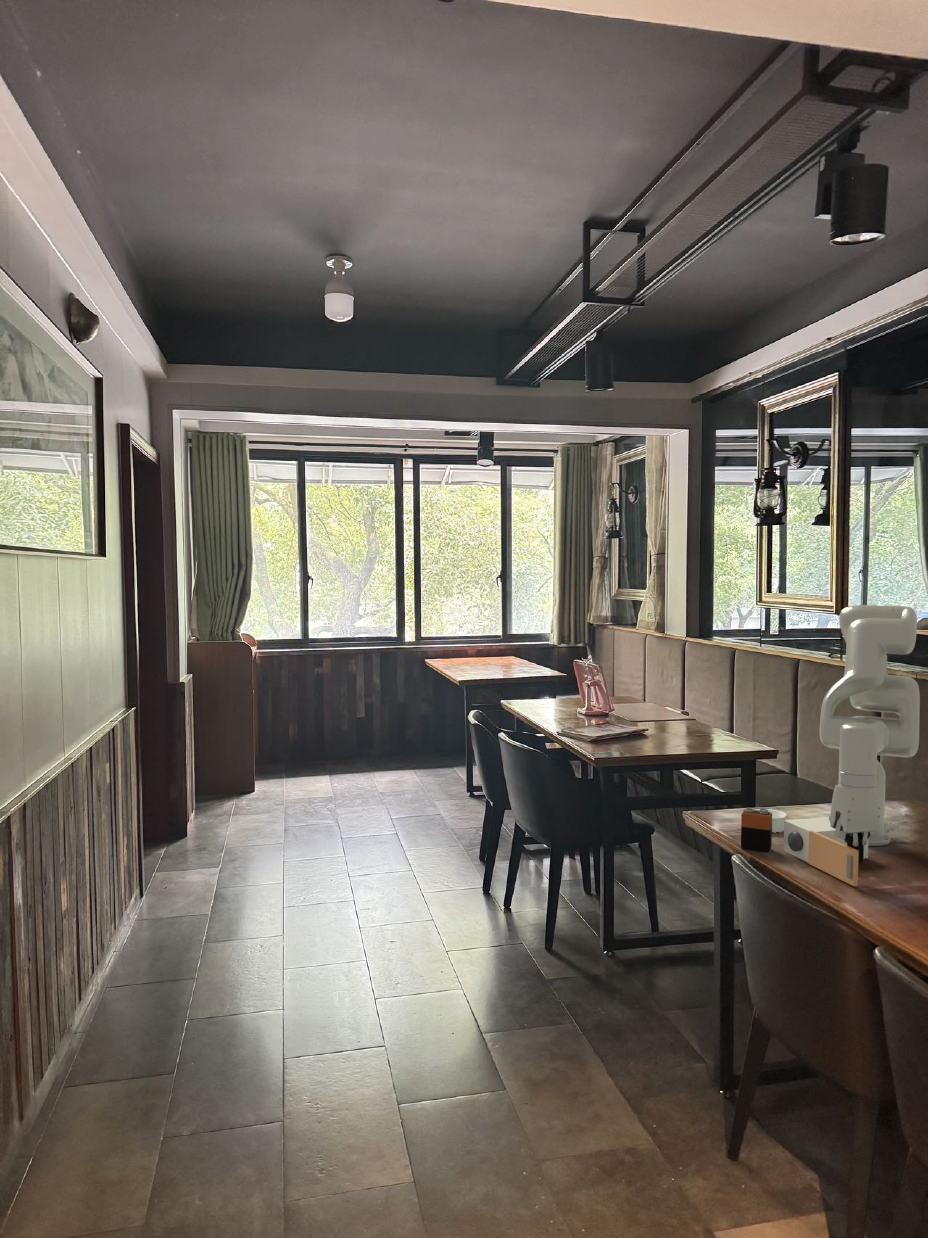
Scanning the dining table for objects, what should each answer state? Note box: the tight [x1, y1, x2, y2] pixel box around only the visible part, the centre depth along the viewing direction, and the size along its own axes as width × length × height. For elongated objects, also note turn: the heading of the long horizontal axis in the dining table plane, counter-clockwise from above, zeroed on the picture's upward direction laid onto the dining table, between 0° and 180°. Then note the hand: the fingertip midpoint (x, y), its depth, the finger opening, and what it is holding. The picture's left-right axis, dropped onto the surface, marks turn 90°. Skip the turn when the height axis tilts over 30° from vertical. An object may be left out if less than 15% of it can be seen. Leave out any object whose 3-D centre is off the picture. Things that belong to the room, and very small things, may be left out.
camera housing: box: [783, 815, 869, 863], centre depth 201 cm, size 17×10×8 cm, turn 106°
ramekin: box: [755, 808, 788, 834], centre depth 222 cm, size 9×9×4 cm
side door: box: [807, 831, 859, 887], centre depth 186 cm, size 15×1×8 cm, turn 15°
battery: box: [740, 807, 773, 854], centre depth 205 cm, size 4×7×10 cm, turn 64°
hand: (855, 861), depth 184 cm, fingers closed
